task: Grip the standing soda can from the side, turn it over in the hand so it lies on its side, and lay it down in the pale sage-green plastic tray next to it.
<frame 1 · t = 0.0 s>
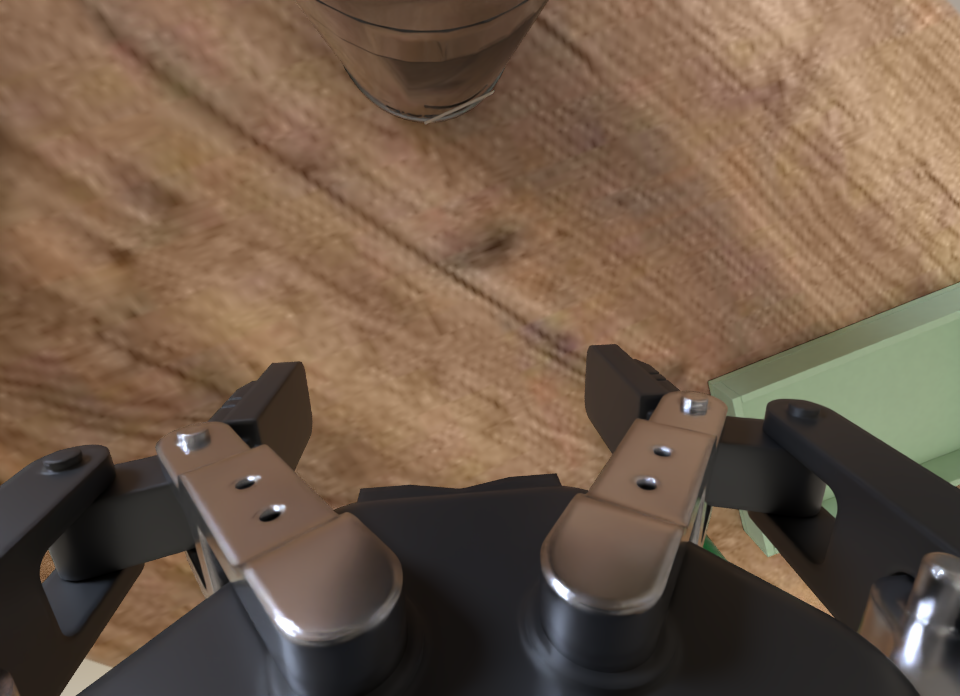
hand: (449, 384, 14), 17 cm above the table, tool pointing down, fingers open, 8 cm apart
tray: (847, 413, 36), on the table
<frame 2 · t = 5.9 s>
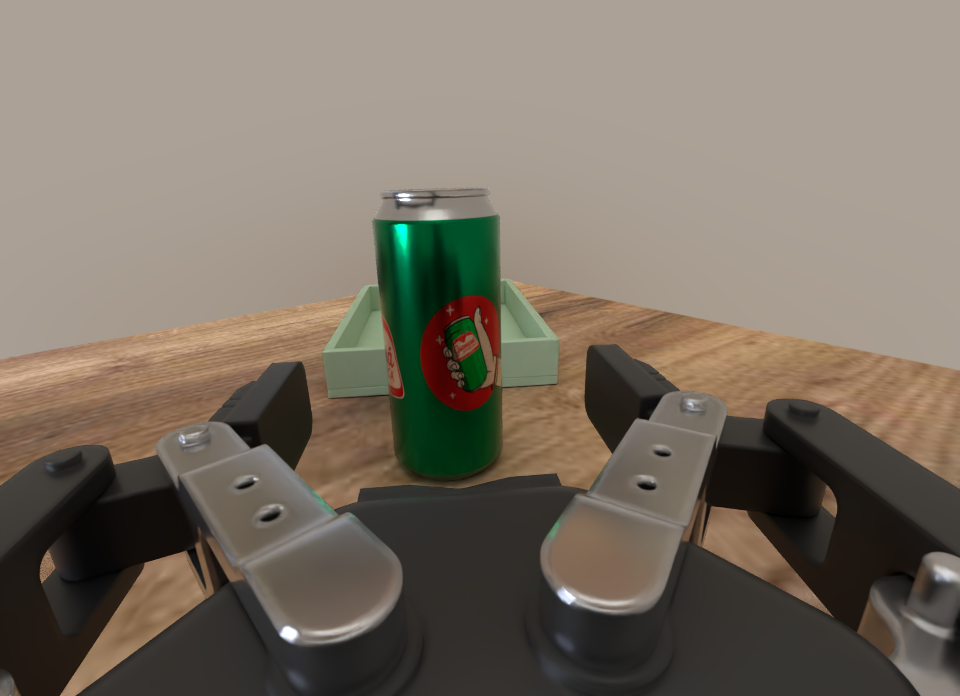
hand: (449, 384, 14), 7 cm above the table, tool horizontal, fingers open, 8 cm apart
soda can: (449, 458, 23), on the table
tray: (441, 342, 39), on the table
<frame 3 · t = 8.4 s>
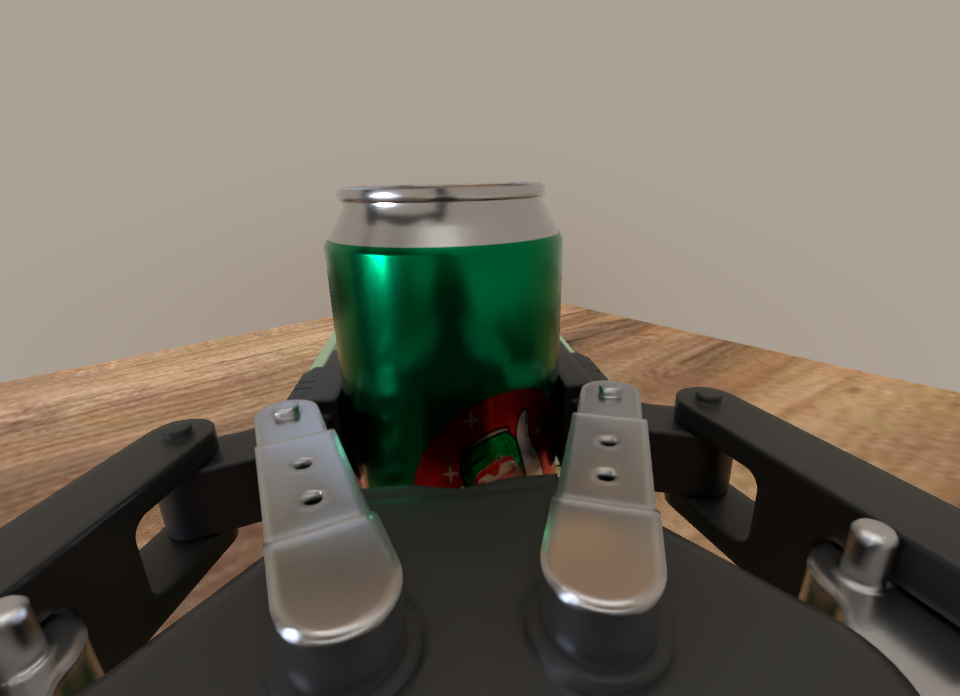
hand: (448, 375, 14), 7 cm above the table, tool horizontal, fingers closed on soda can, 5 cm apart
soda can: (462, 623, 14), on the table, touching gripper
tray: (446, 385, 30), on the table
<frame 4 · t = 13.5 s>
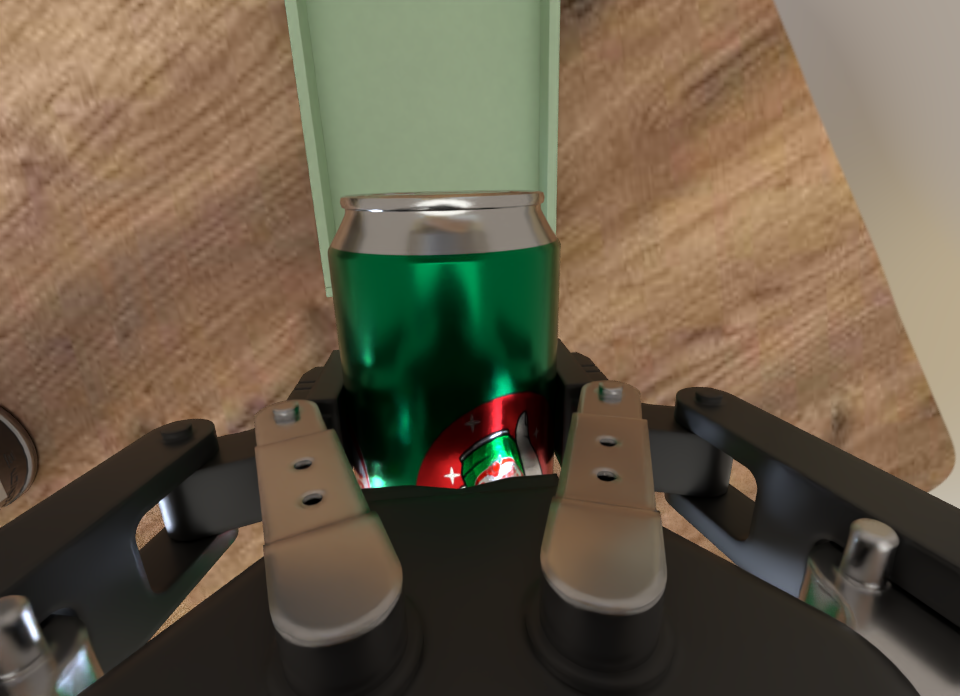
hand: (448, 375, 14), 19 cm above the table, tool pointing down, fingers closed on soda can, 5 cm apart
soda can: (462, 623, 14), point 22 cm above the table, touching gripper
tray: (432, 126, 30), on the table
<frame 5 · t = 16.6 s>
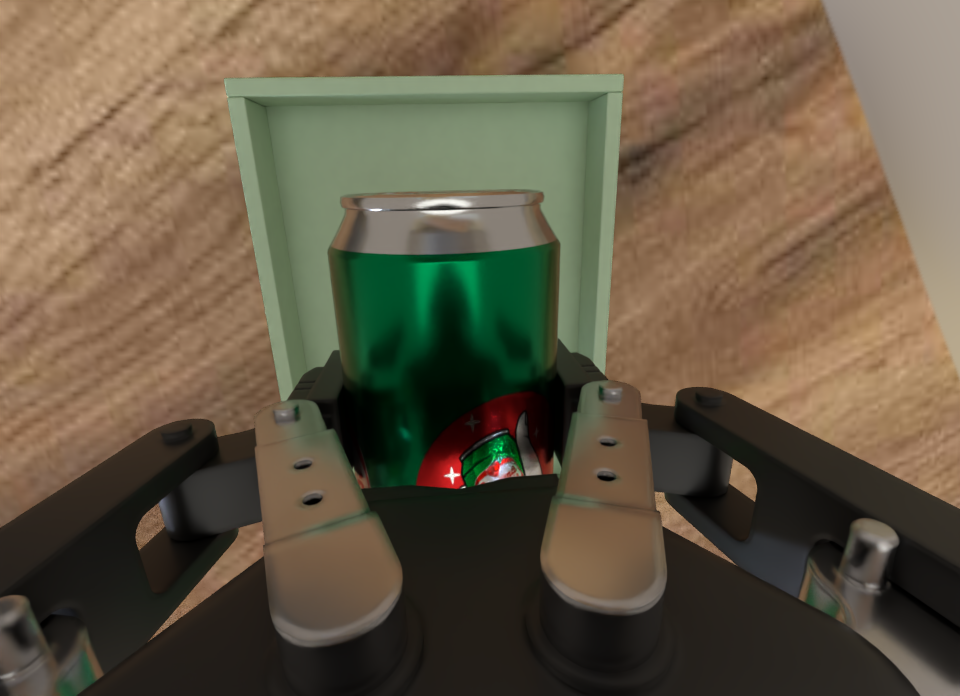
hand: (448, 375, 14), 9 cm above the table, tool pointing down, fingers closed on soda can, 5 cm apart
soda can: (462, 623, 14), point 12 cm above the table, touching gripper
tray: (442, 314, 23), on the table
when the fingers open (1 cm above the table, at t = 19.1 s): soda can stays where it is, resting on tray.
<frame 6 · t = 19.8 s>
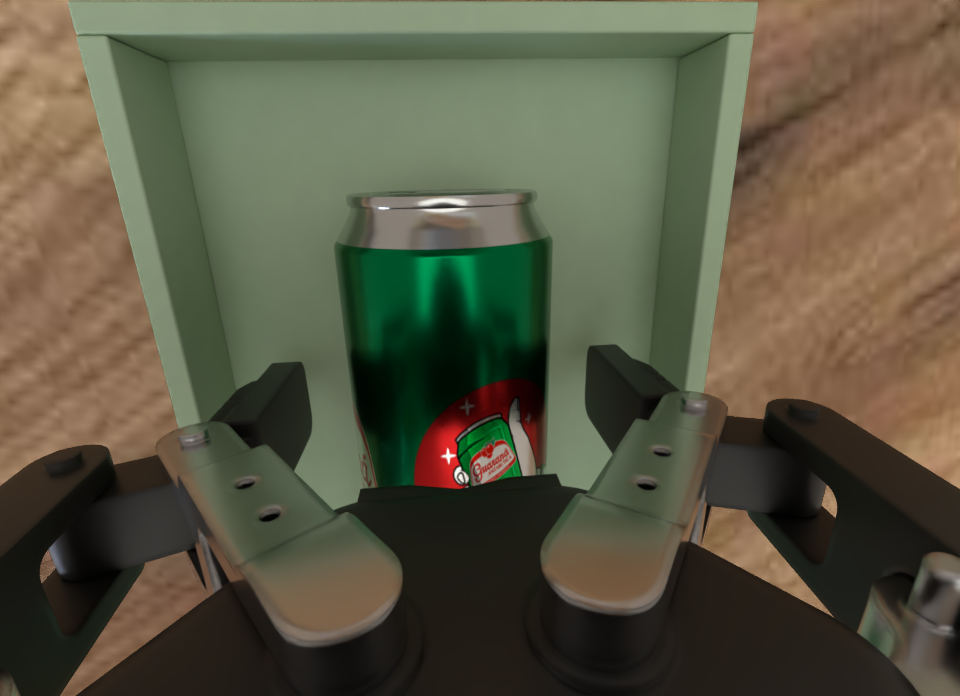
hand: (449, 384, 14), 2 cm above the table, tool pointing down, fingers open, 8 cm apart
soda can: (460, 601, 15), point 3 cm above the table, touching tray
tray: (449, 375, 16), on the table
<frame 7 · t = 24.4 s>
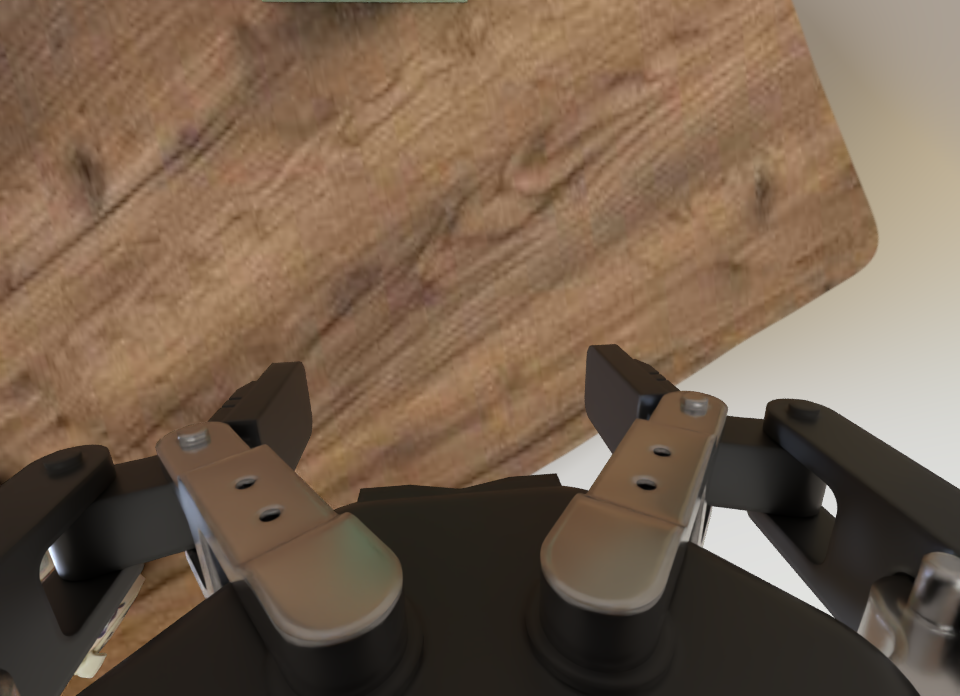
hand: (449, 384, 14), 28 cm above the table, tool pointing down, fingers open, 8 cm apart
pencil case: (50, 528, 45), on the table
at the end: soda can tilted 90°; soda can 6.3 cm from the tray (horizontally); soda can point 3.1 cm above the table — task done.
